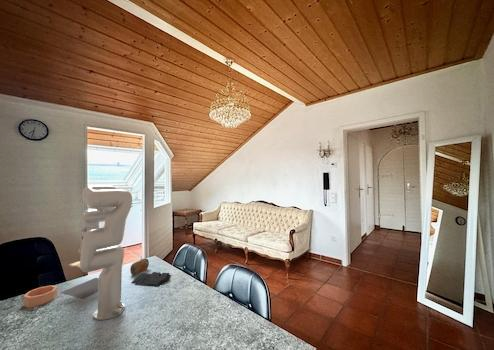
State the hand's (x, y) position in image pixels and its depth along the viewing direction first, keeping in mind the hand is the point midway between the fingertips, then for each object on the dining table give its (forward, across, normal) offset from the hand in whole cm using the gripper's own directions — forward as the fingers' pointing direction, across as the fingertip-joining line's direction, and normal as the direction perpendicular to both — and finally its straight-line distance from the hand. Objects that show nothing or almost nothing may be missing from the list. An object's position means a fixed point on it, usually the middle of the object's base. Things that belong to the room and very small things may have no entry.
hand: (90, 259), depth 125 cm
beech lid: (+2, 0, 0) cm, 2 cm away
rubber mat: (+17, 0, +1) cm, 17 cm away
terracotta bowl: (+17, -18, +12) cm, 27 cm away
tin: (+17, +27, -9) cm, 34 cm away
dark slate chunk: (+18, +20, -27) cm, 38 cm away
